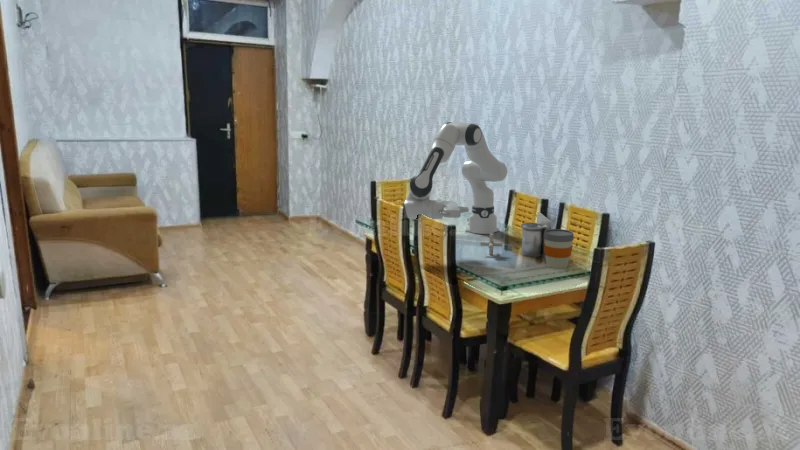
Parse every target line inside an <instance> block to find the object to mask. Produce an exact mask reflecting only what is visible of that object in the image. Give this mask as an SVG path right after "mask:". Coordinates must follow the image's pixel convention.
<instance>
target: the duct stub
mask: <svg viewBox="0 0 800 450" xmlns="http://www.w3.org/2000/svg"><path fill="white" fill-rule="evenodd" d="M536 215H537V216H536V222H523V223H521V224H520V228H522V234H521V236H522V237H521V255H522V256H524V257H530V258H537V257H540V256H542V257H543V258H544V259H545V260H546V255H545V252H544V243H545V239H544V233H545V231H546V230H549V229H552V221H551V220H550V219H549V218H547V217H546V216H545V215H544V214H543V213H541V212H540V211H539V212H537V214H536Z"/></svg>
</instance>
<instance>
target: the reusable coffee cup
mask: <svg viewBox="0 0 800 450" xmlns="http://www.w3.org/2000/svg"><path fill="white" fill-rule="evenodd" d="M544 239H545V243H544V252H545V255H546V259H545V261H546V264H545V265H546V267H549V268H550V269H551V268H552V269H559V270H560V269H566V268H568V266H569V260H570V257H571V256H572V252H573V251H572V249H573V241H574V240H575V238H574V232H573V231H572V230H567V229H562V228H561V229H560V228H559V229H558V228H551V229H549V230H546V231H545V233H544Z"/></svg>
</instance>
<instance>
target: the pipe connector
mask: <svg viewBox="0 0 800 450" xmlns="http://www.w3.org/2000/svg"><path fill="white" fill-rule="evenodd" d="M494 235H495V234H494V233H490V234H489V241H480V244H479V245H480V246H482V247H483V246H484V247H488V248H489V251H488V255H489V256H493V255H494V247H503V242H496V241H494Z"/></svg>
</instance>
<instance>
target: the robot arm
mask: <svg viewBox="0 0 800 450" xmlns="http://www.w3.org/2000/svg"><path fill="white" fill-rule="evenodd" d="M456 145H457V146H464V148H465V152H466V154H467V157H468V159H469V160H466V161H464V163H463V164H462V166H461V174H462V176H463V177H464V179H466V180H467V181H468V183H469V185H470V187H471V188H470V189H472V206H471V215H469V217H467V221H466V222H468V223H467V224H466V227H465V232H467V233H473V234H479V235H486V234H487V235H488V234H489V235H490V234H494V233H496V232H500V231H501V230H500V228H498V221H497V218H498V217H497V216H496V215H495V206H494V198H495V197H494V194H495V193H494V191H493V190H492V189H491V188H490V187H489V186H488V185H487V183H486V182H491V183H492V182H493V183H495V182H502V181H504V180H505V179H506V177H507V176H508V175H507V174H508V168H507V165H506V164H505V163H503V162H502V161H500V160H499V159H498V158H496V157H495V156H494V155H493V154H492V153H491V151H490V148H489V147H488V144H487V141H486V138H485V135H484V133H483V131H482V129H481V127H480V126H479V124H478V123H475V122H462V121H460V122H459V121H458V122H457V121H456V122H452V121H449V122H448V121H447V122H444V123H443V124H442V125H441V126H440V128H439V130H437V132H436V134H435V135H434V137H433V138H432V141H431V143H430V146H429V149H428V153H427V157H426V159H425V160H424V161H425V162H424V163H423V164H422V168H421V169H420V170H419V171H418V172H417V173H416V174H415V175H413V176H412V178H411V179H410V182H409V188H410V191H409V192H408V196H407V198H406V199H404V200H405V201H403V203H402V208H403V213H404V216H405V217H406V219H408V220H409V219H411V220H417V219H416V218H417V215H418V214H423V215H425V216H427V217H429V218H432V219H431V220H443V217H444V218H452V219H453V218H454V219H457V218H461V214H462V213H469V211H470V210H469V207H468V206H462V205H460V206H459V205H458V204H457V202H456V201H452V200H451V201H449V200H442V199H436V200H435V199H430V197H431V195H432V188H433V178H434V176H435V174H436V172H437V169H438V168H439V166H440V164H442V163H443V164H444V163H447V161H448V160H449V159H450V157H451V155H452V154H453V152H454V150H455V148H456Z"/></svg>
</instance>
